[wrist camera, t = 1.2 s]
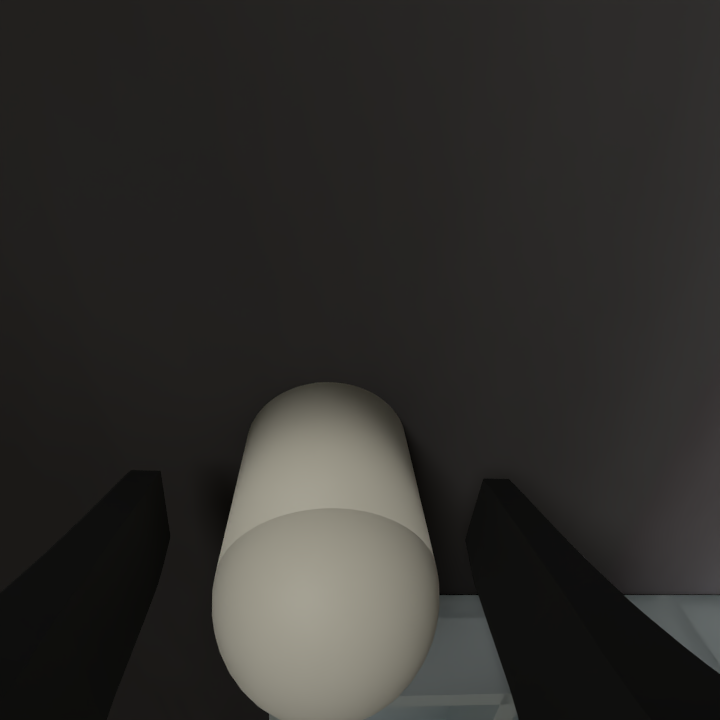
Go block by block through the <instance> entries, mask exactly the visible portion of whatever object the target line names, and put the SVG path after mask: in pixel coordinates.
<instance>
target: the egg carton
mask: <svg viewBox="0 0 720 720" xmlns="http://www.w3.org/2000/svg"><path fill="white" fill-rule="evenodd" d="M624 596H625V597H626V598H627V599H629V600H630V601H631V602H632V603H633V604H634V605H635V606H636V607H638V608H639V609H640V610H641V611H642V612H643V613H644V614H646V615H647V616H648V617H649V618H650V619H652V620H653V621H654V622H655V623H656V624H658V625H659V626H660V627H661V628H662V629H664V630H665V631H666V632H667V633H668V634H670V635H671V636H672V637H673V638H674V639H676V640H677V641H678V642H679V643H680V644H682V645H683V646H684V647H685V648H687V649H688V650H689V651H691V652H692V653H693V654H694V655H696V656H697V657H698V658H700V659H701V660H702V661H703V662H705V663H706V664H707V665H709V666H710V667H711V668H713V669H714V670H715V671H717V672H718V673H719V674H720V595H624ZM269 720H280V719H278V718H276V717H274V716H273V715H271V714H269ZM364 720H519V719H518V715H517V712H516V708H515V705H514V702H513V698H512V695H511V692H510V688H509V685H508V682H507V679H506V676H505V673H504V670H503V667H502V665H501V662H500V659H499V656H498V653H497V650H496V647H495V644H494V641H493V638H492V635H491V632H490V629H489V626H488V623H487V620H486V617H485V614H484V611H483V608H482V605H481V602H480V599H479V596H478V595H439V614H438V621H437V627H436V631H435V634H434V638H433V642H432V644H431V647H430V649H429V652H428V654H427V656H426V659H425V661H424V663H423V665H422V666H421V668H420V670H419V671H418V673H417V674H416V676H415V677H414V679H413V680H412V682H411V683H410V684H409V685H408V687H407V688H406V689H405V690H404V691H403V692H402V693H401V694H400V695H399V696H398V697H397V698H396V699H395V700H394V701H393V702H392V703H390V704H389V705H388V706H386V707H385V708H384V709H382V710H381V711H379V712H378V713H376V714H374V715H373V716H371V717H369V718H366V719H364Z"/></svg>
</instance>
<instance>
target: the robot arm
mask: <svg viewBox="0 0 720 720" xmlns="http://www.w3.org/2000/svg"><path fill="white" fill-rule="evenodd" d="M169 540H170V531H169V525H168V518H167V511H166V505H165V498H164V492H163V485H162V478H161V472H160V471H139V470H131V471H130V472H128V473H127V474H126V475H125V476H124V477H123V478H122V479H121V480H120V481H119V482H118V483H117V484H116V485H115V486H114V487H113V488H112V489H111V490H110V491H109V492H108V493H107V494H106V495H105V496H104V497H103V498H102V499H101V500H100V501H99V502H98V503H97V504H96V505H95V506H94V507H93V508H92V509H91V510H90V511H89V512H88V513H87V514H86V515H85V516H84V517H83V518H82V519H81V520H80V521H79V522H78V523H77V524H75V525H74V526H73V527H72V528H71V529H70V530H69V531H68V532H67V533H66V534H65V535H64V536H63V537H62V538H61V539H60V540H59V541H57V542H56V543H55V544H54V545H53V546H52V547H51V548H50V549H49V550H48V551H47V552H46V553H45V554H44V555H42V556H41V557H40V558H39V559H38V560H37V561H36V562H35V563H34V564H32V565H31V566H30V567H29V568H28V569H27V570H26V571H24V572H23V573H22V574H21V575H20V576H19V577H18V578H16V579H15V580H14V581H13V582H12V583H11V584H10V585H8V586H7V587H6V588H5V589H4V590H3V591H2V592H0V720H106V719H107V717H108V714H109V711H110V708H111V705H112V702H113V699H114V697H115V694H116V692H117V689H118V686H119V684H120V681H121V679H122V676H123V674H124V671H125V668H126V666H127V663H128V661H129V658H130V656H131V653H132V650H133V648H134V645H135V643H136V640H137V638H138V635H139V632H140V630H141V627H142V625H143V622H144V620H145V617H146V614H147V612H148V609H149V606H150V604H151V601H152V599H153V596H154V593H155V591H156V588H157V585H158V582H159V578H160V575H161V571H162V567H163V564H164V560H165V556H166V552H167V548H168V544H169ZM466 545H467V550H468V555H469V560H470V565H471V570H472V574H473V579H474V583H475V587H476V590H477V593H478V596H479V599H480V602H481V605H482V608H483V611H484V614H485V617H486V620H487V623H488V626H489V629H490V632H491V635H492V638H493V641H494V644H495V647H496V650H497V653H498V656H499V659H500V662H501V665H502V667H503V670H504V673H505V676H506V679H507V682H508V685H509V688H510V692H511V695H512V698H513V702H514V705H515V708H516V712H517V715H518V719H519V720H720V674H719V673H718V672H717V671H715V670H714V669H713V668H711V667H710V666H709V665H707V664H706V663H705V662H703V661H702V660H701V659H700V658H698V657H697V656H696V655H694V654H693V653H692V652H691V651H689V650H688V649H687V648H685V647H684V646H683V645H682V644H680V643H679V642H678V641H677V640H676V639H674V638H673V637H672V636H671V635H670V634H668V633H667V632H666V631H665V630H664V629H662V628H661V627H660V626H659V625H658V624H656V623H655V622H654V621H653V620H652V619H650V618H649V617H648V616H647V615H646V614H644V613H643V612H642V611H641V610H640V609H639V608H638V607H636V606H635V605H634V604H633V603H632V602H631V601H630V600H629V599H627V598H626V597H625V596H624V595H623V594H622V593H621V592H620V591H619V590H618V589H617V588H616V587H614V586H613V585H612V584H611V583H610V582H609V581H608V580H607V579H606V578H605V577H604V576H603V575H602V574H600V573H599V572H598V571H597V570H596V569H595V568H594V567H593V566H592V565H591V564H590V563H589V562H588V561H587V560H586V559H585V558H584V557H583V556H582V555H581V554H580V553H579V552H578V551H577V550H576V549H575V548H574V547H573V546H572V545H571V544H570V543H569V542H568V541H567V540H566V539H565V538H564V537H563V536H562V535H561V534H560V533H559V532H558V531H557V529H556V528H555V527H554V526H553V525H552V524H551V523H550V522H549V521H548V520H547V519H546V518H545V517H544V516H543V515H542V514H541V513H540V512H539V510H538V509H537V508H536V507H535V506H534V505H533V504H532V503H531V502H530V501H529V500H528V499H527V498H526V497H525V496H524V494H523V493H522V492H521V491H520V490H519V489H518V488H517V487H516V486H515V485H514V484H513V483H512V482H511V481H510V480H509V479H483V482H482V486H481V489H480V492H479V496H478V499H477V502H476V506H475V509H474V513H473V516H472V519H471V523H470V526H469V529H468V533H467V536H466Z"/></svg>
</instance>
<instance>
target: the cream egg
mask: <svg viewBox="0 0 720 720" xmlns="http://www.w3.org/2000/svg"><path fill="white" fill-rule="evenodd" d="M438 614H439V579H438V573H437V568H436V563H435V559H434V555H433V551H432V547H431V542H430V538H429V534H428V530H427V525H426V521H425V517H424V513H423V508H422V504H421V500H420V496H419V492H418V487H417V483H416V479H415V475H414V470H413V466H412V462H411V458H410V453H409V449H408V445H407V441H406V437H405V432H404V428H403V426H402V423H401V421H400V419H399V417H398V416H397V414H396V413H395V411H394V410H393V409H392V408H391V407H390V406H389V405H388V404H387V403H386V402H385V401H384V400H382V399H381V398H380V397H378V396H376V395H375V394H373V393H371V392H369V391H367V390H365V389H362V388H359V387H357V386H353V385H349V384H344V383H335V382H320V383H312V384H307V385H302V386H298V387H296V388H293V389H290V390H288V391H286V392H284V393H282V394H280V395H278V396H277V397H275V398H274V399H272V400H271V401H270V402H269V403H267V404H266V405H265V406H264V407H263V408H262V409H261V410H260V412H259V413H258V414H257V416H256V417H255V419H254V420H253V422H252V424H251V427H250V429H249V433H248V437H247V441H246V445H245V450H244V454H243V458H242V463H241V467H240V471H239V475H238V480H237V484H236V488H235V492H234V497H233V501H232V505H231V510H230V514H229V518H228V522H227V527H226V531H225V535H224V539H223V544H222V548H221V552H220V556H219V561H218V565H217V569H216V574H215V578H214V585H213V591H212V618H213V626H214V632H215V637H216V641H217V644H218V647H219V651H220V654H221V656H222V658H223V660H224V662H225V665H226V667H227V669H228V671H229V673H230V674H231V676H232V677H233V679H234V680H235V681H236V683H237V684H238V686H239V687H240V688H241V690H242V691H243V692H244V693H245V694H246V695H247V696H248V697H249V698H250V699H251V700H252V701H253V702H254V703H255V704H256V705H257V706H259V707H260V708H261V709H263V710H264V711H266V712H268V713H269V714H271V715H273V716H274V717H276V718H278V719H280V720H364V719H366V718H369V717H371V716H373V715H374V714H376V713H378V712H379V711H381V710H382V709H384V708H385V707H386V706H388V705H389V704H390V703H392V702H393V701H394V700H395V699H396V698H397V697H398V696H399V695H400V694H401V693H402V692H403V691H404V690H405V689H406V688H407V687H408V685H409V684H410V683H411V682H412V680H413V679H414V677H415V676H416V674H417V673H418V671H419V670H420V668H421V666H422V665H423V663H424V661H425V659H426V656H427V654H428V652H429V649H430V647H431V644H432V642H433V638H434V634H435V631H436V627H437V621H438Z"/></svg>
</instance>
